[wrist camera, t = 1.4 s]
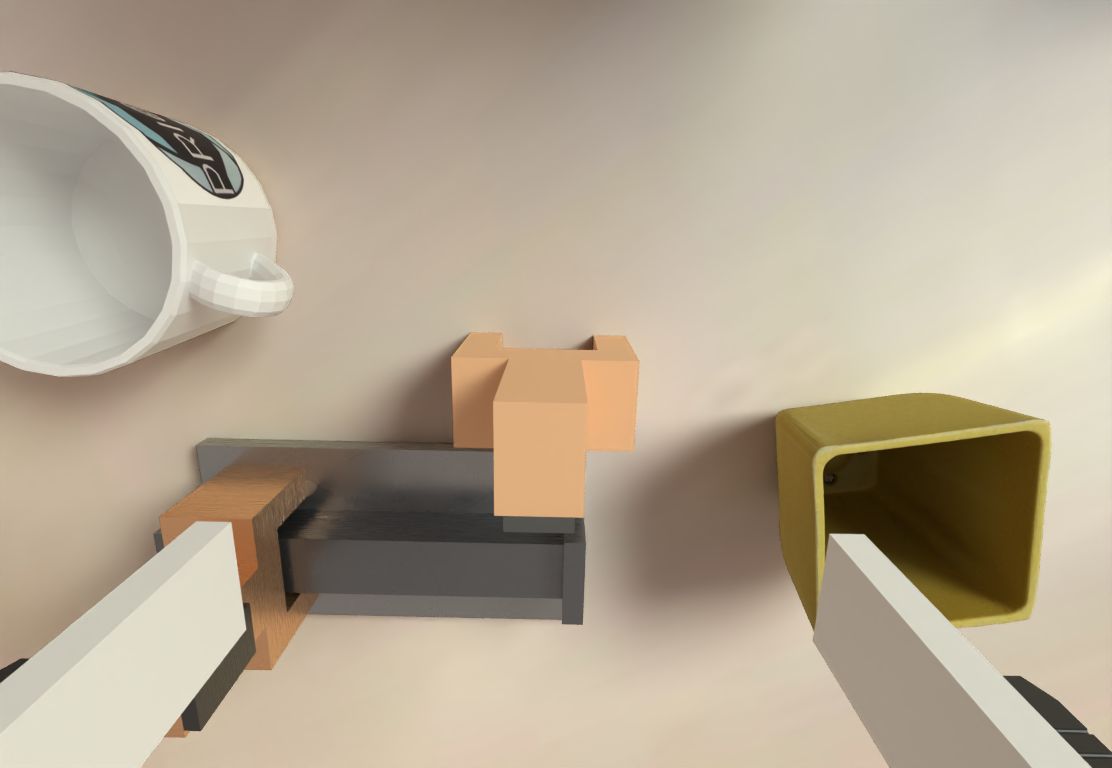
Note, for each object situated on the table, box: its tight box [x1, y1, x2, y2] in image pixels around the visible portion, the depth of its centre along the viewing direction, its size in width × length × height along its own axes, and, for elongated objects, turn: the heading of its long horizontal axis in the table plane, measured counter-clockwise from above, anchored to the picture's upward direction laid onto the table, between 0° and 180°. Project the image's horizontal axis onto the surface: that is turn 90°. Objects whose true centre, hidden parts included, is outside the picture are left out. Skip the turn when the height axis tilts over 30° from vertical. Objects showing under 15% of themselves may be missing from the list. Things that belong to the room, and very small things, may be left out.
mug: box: [0, 71, 294, 378], centre depth 25 cm, size 13×10×8 cm
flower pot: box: [775, 393, 1051, 630], centre depth 27 cm, size 9×9×9 cm
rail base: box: [154, 438, 586, 738], centre depth 27 cm, size 10×20×12 cm, turn 89°
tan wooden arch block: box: [451, 333, 639, 533], centre depth 25 cm, size 8×5×12 cm, turn 89°
